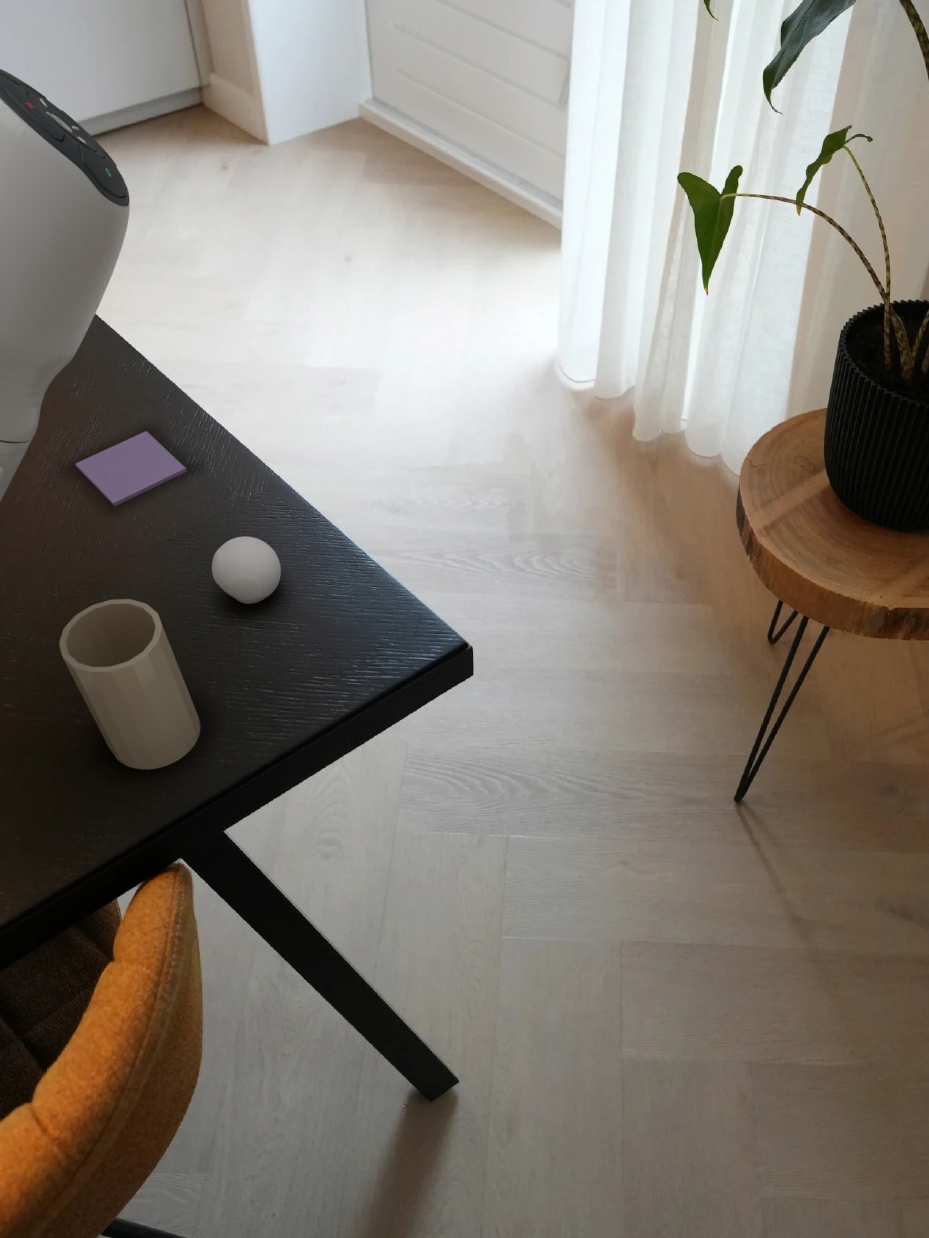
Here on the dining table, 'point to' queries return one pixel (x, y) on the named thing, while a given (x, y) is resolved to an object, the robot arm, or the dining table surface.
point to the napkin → (130, 468)
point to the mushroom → (246, 569)
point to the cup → (131, 682)
